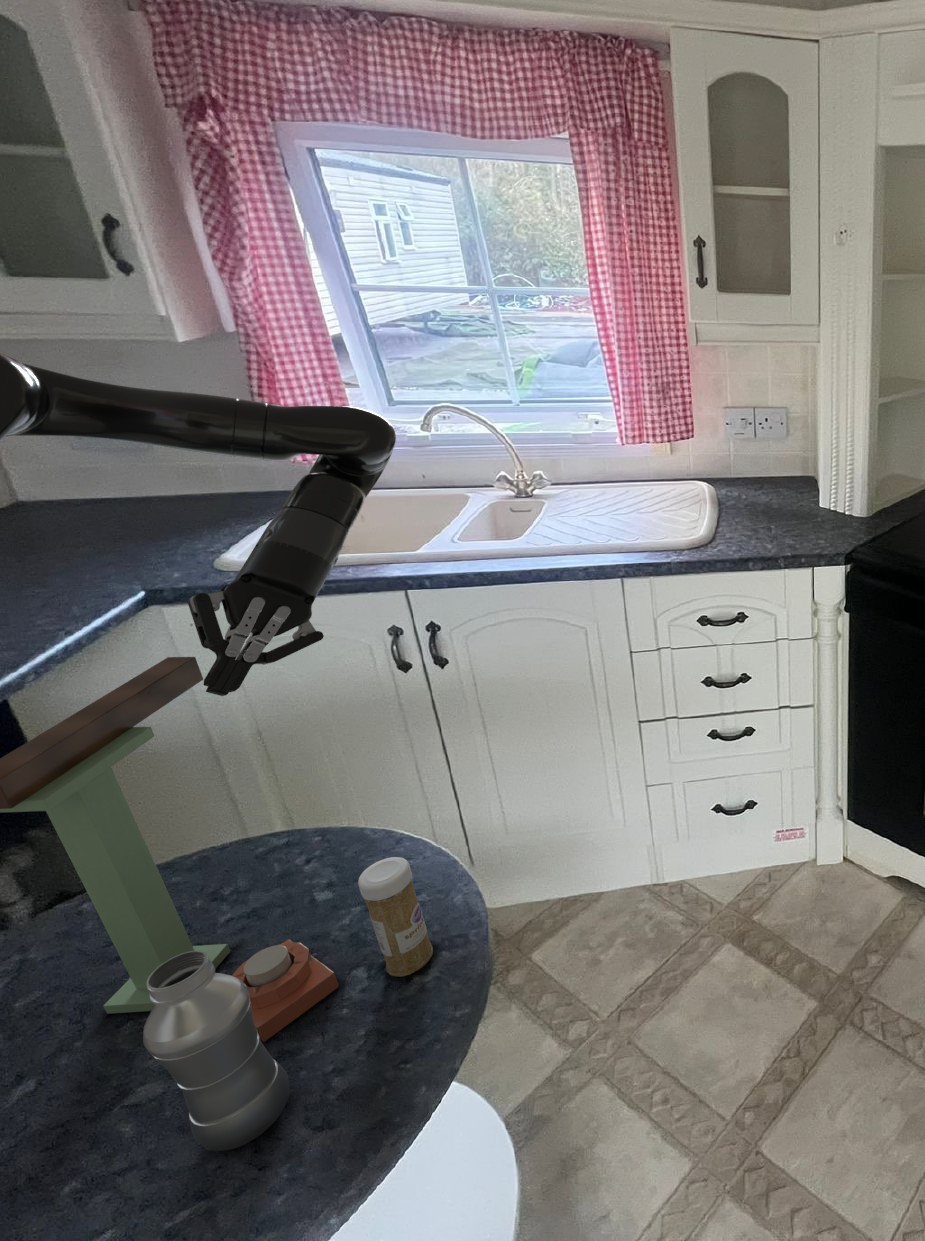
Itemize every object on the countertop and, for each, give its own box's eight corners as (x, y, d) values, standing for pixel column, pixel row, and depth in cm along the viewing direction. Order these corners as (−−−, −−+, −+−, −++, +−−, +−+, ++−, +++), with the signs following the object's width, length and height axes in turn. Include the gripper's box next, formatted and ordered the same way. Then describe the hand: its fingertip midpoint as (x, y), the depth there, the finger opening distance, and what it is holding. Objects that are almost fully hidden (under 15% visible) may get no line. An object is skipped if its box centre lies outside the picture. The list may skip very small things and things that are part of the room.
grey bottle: (309, 1108, 70) (245, 957, 62) (217, 1179, 64) (136, 1022, 57) (278, 1071, 73) (214, 922, 65) (188, 1136, 67) (106, 981, 60)
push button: (240, 977, 78) (235, 966, 77) (280, 951, 81) (276, 939, 80) (259, 992, 76) (254, 980, 76) (299, 965, 79) (294, 953, 79)
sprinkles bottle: (431, 969, 83) (405, 879, 78) (383, 984, 82) (352, 893, 76) (435, 937, 87) (411, 850, 82) (389, 951, 85) (361, 862, 80)
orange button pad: (218, 1003, 79) (206, 977, 77) (294, 952, 85) (284, 927, 83) (264, 1042, 75) (252, 1015, 74) (339, 986, 81) (330, 960, 80)
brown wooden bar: (176, 679, 83) (167, 656, 82) (204, 679, 83) (195, 656, 82) (-25, 810, 64) (-41, 782, 63) (11, 808, 64) (-3, 781, 63)
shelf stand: (178, 939, 86) (80, 728, 75) (244, 936, 86) (156, 726, 75) (88, 1032, 75) (-40, 803, 64) (164, 1027, 76) (50, 800, 65)
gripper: (342, 582, 95) (273, 713, 87) (218, 534, 86) (126, 677, 77) (369, 572, 91) (299, 708, 83) (242, 521, 82) (148, 669, 73)
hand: (216, 693), depth 80 cm, fingers closed
